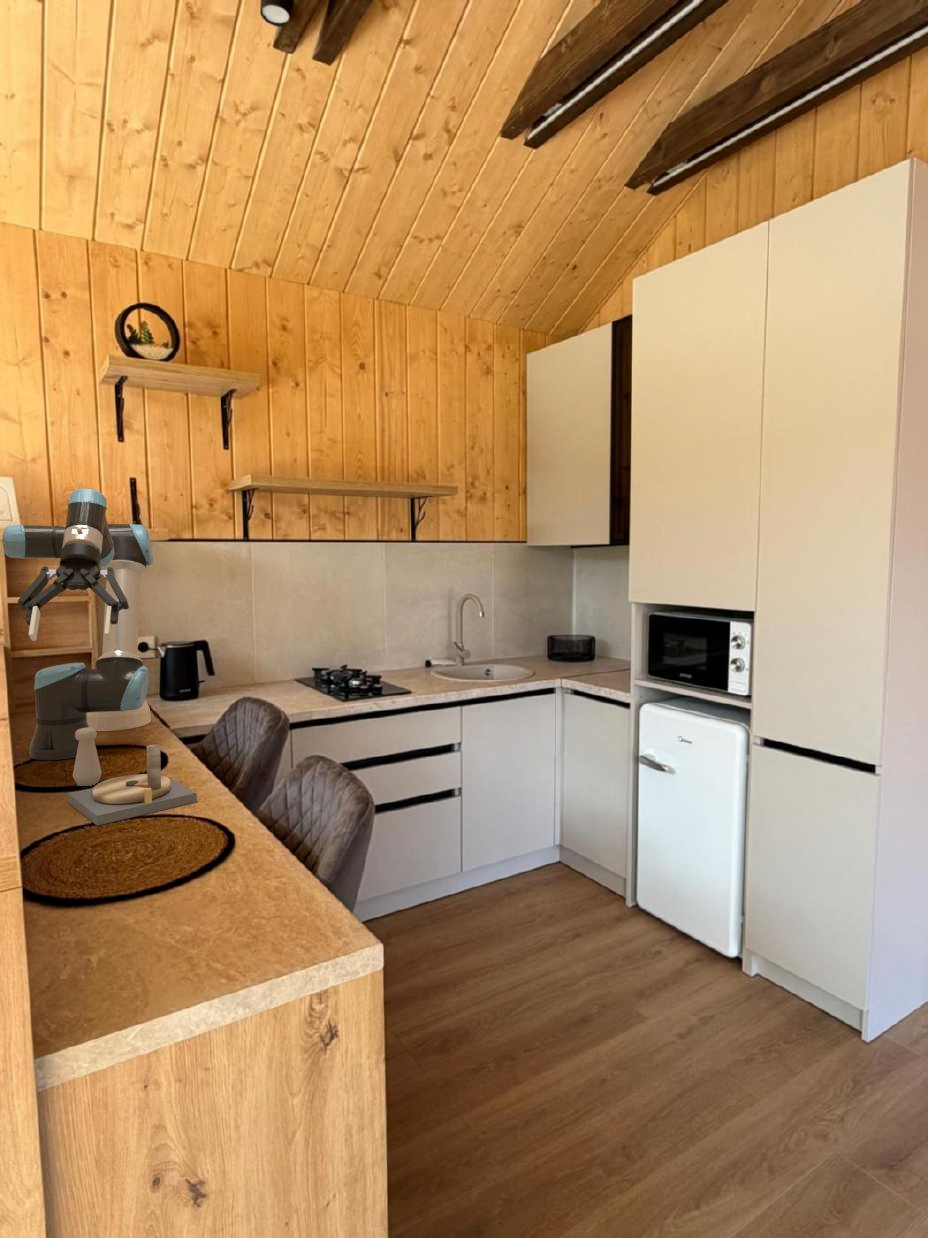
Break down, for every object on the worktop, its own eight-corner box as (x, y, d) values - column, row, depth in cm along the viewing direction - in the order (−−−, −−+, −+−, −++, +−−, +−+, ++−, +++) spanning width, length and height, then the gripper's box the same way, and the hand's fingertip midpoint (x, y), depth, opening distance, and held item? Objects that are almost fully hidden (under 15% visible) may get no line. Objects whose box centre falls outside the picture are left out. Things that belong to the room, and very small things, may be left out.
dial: (75, 798, 149) (74, 748, 149) (132, 777, 164) (130, 731, 163) (132, 807, 144) (131, 756, 143) (185, 785, 158) (184, 738, 157)
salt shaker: (89, 789, 162) (87, 732, 161) (67, 787, 163) (65, 731, 162) (107, 781, 168) (105, 726, 167) (85, 779, 169) (83, 725, 168)
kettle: (149, 714, 238) (147, 659, 236) (153, 727, 219) (152, 669, 218) (79, 719, 229) (77, 663, 227) (78, 734, 210) (76, 673, 209)
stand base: (67, 802, 153) (67, 779, 153) (162, 782, 168) (161, 761, 167) (97, 825, 141) (96, 800, 140) (196, 801, 155) (196, 779, 154)
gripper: (11, 539, 149) (-6, 628, 139) (142, 542, 156) (135, 627, 146) (20, 560, 156) (5, 647, 145) (146, 562, 163) (140, 644, 152)
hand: (70, 637), depth 146 cm, fingers open, 13 cm apart
